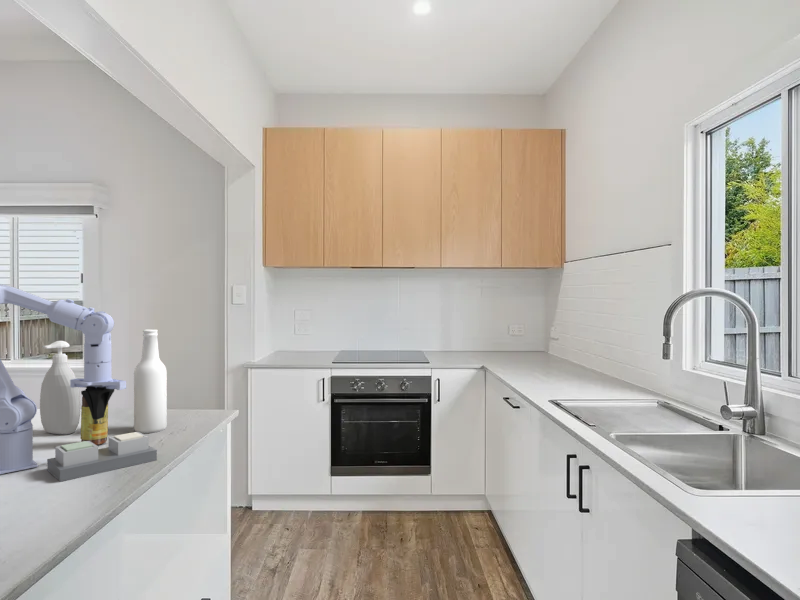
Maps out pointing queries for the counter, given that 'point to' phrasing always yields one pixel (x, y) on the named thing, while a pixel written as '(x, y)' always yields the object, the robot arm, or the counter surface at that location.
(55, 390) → the soap bottle
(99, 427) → the sauce bottle
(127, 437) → the cream key
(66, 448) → the sage key
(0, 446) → the robot arm
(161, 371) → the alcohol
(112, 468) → the key console
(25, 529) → the counter surface
